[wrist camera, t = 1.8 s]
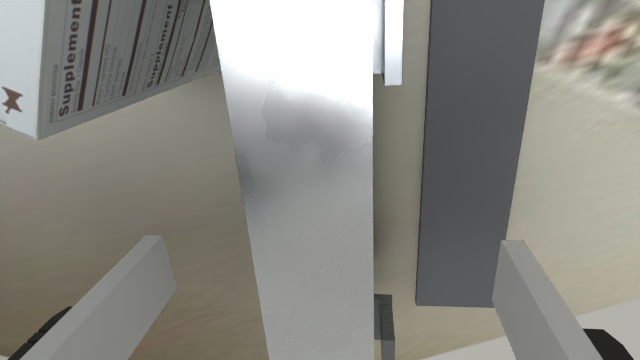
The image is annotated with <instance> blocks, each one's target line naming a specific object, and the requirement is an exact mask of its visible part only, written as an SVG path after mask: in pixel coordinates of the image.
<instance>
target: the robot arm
mask: <svg viewBox="0 0 640 360" xmlns="http://www.w3.org/2000/svg"><path fill="white" fill-rule="evenodd" d="M176 290H177V285H176V282H175V278H174V274H173V270H172V267H171V263H170V259H169V256H168V252H167V248H166V245H165V241H164V237H163V235H145V236H144V237H143V238H142V239H141V240H140V241H139V242H138V243H137V244H136V245H135V246H134V247H133V248H132V249H131V250H130V251H129V252H128V253H127V254H126V255H125V256H124V257H123V258H122V259H121V260H120V261H119V262H118V263H117V264H116V265H115V266H114V267H113V268H112V269H111V270H110V271H109V272H108V273H107V274H106V275H105V276H104V277H103V278H102V279H101V280H100V281H99V282H98V283H97V284H96V285H95V286H94V287H93V288H92V289H91V290H90V291H89V292H88V293H87V294H86V295H84V296H83V297H82V298H81V299H80V300H79V301H78V302H77V303H76V304H75V305H74V306H73V307H67V308H66V309H64V310H63V311H61V312H59V313H58V314H56V315H55V316H53V317H52V318H51V319H50V320H49V321H48V322H46V323H45V324H44V325H43V326H42V327H41V328H40V329H39V331H38V333H35V334H34V335H33V336H32V337H31V338H30V339H29V340H28V342H27V343H25V344H23V345H22V346H21V347H20V348H19V349H18V350H17V351H16V352H15V353H14V354H13V355H12V356H11V357H10V358H9V359H8V360H128V359H129V357H130V356H131V354H132V353H133V352H134V350H135V349H136V347H137V346H138V344H139V343H140V342H141V340H142V339H143V337H144V336H145V334H146V333H147V332H148V330H149V329H150V327H151V326H152V324H153V323H154V322H155V320H156V319H157V317H158V316H159V314H160V313H161V312H162V310H163V309H164V307H165V306H166V304H167V303H168V302H169V300H170V299H171V297H172V296H173V294H174V293H175V292H176ZM492 302H493V304H494V307H495V309H496V311H497V314H498V316H499V319H500V321H501V323H502V326H503V328H504V331H505V333H506V335H507V338H508V340H509V342H510V345H511V347H512V350H513V352H514V354H515V357H516V359H517V360H634V359H633V358H632V357H631V355H630V354H629V353H628V351H627V350H626V349H625V347H624V346H623V345H622V344H621V343H620V342H618V341H617V340H616V339H615V338H613V337H612V336H611V335H609V334H608V333H607V332H606V331H605V330H602V329H582V327H581V326H580V324H579V323H578V321H577V320H576V318H575V317H574V315H573V314H572V312H571V311H570V309H569V308H568V306H567V305H566V303H565V302H564V300H563V299H562V297H561V296H560V294H559V293H558V291H557V290H556V288H555V287H554V285H553V284H552V282H551V281H550V279H549V278H548V276H547V275H546V273H545V272H544V270H543V269H542V267H541V266H540V264H539V263H538V261H537V260H536V258H535V257H534V255H533V254H532V252H531V251H530V249H529V248H528V246H527V245H526V243H525V242H524V241H510V240H501V244H500V251H499V257H498V264H497V270H496V276H495V283H494V289H493V296H492Z"/></svg>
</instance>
